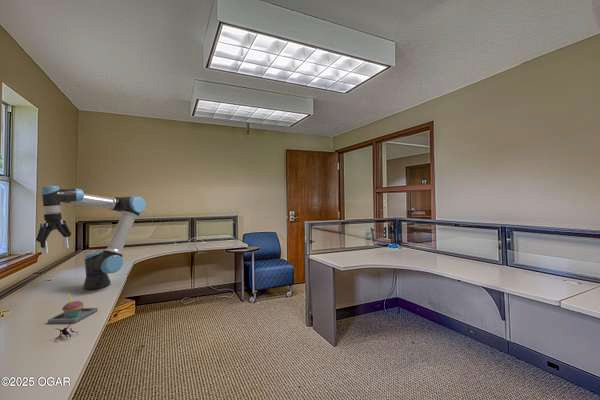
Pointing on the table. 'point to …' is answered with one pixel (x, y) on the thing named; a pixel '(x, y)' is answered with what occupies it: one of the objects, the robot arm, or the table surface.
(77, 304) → the cupcake
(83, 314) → the tray
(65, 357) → the table surface
